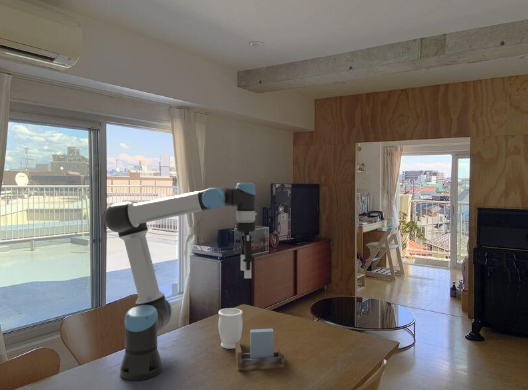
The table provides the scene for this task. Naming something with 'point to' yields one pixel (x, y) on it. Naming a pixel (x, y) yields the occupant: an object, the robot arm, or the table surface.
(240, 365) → the wooden rod frame
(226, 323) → the jar
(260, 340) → the blue-gray rectangular block
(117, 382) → the table surface
